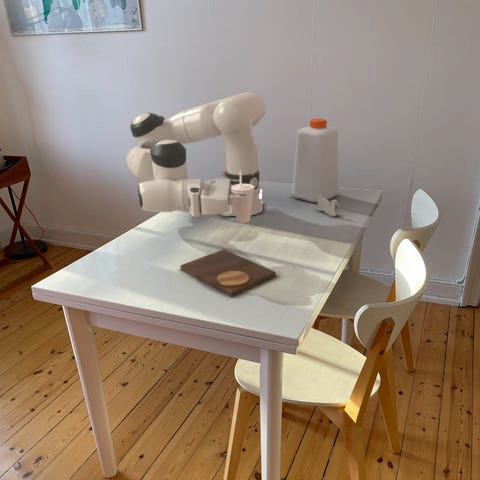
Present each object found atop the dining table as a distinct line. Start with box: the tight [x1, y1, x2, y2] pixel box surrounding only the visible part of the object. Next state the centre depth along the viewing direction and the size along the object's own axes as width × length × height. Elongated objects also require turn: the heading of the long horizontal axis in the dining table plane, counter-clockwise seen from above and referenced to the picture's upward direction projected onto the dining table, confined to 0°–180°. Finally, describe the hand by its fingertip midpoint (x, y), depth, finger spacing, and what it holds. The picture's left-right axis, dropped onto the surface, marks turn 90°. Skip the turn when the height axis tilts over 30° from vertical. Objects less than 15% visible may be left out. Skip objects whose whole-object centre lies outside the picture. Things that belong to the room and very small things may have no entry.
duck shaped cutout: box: [317, 195, 340, 217], centre depth 174 cm, size 6×1×10 cm
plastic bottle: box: [291, 118, 339, 204], centre depth 186 cm, size 15×15×28 cm
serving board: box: [180, 248, 277, 298], centre depth 137 cm, size 22×16×2 cm
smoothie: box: [231, 171, 255, 224], centre depth 137 cm, size 6×6×14 cm
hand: (246, 194), depth 137 cm, fingers closed on smoothie, 6 cm apart
